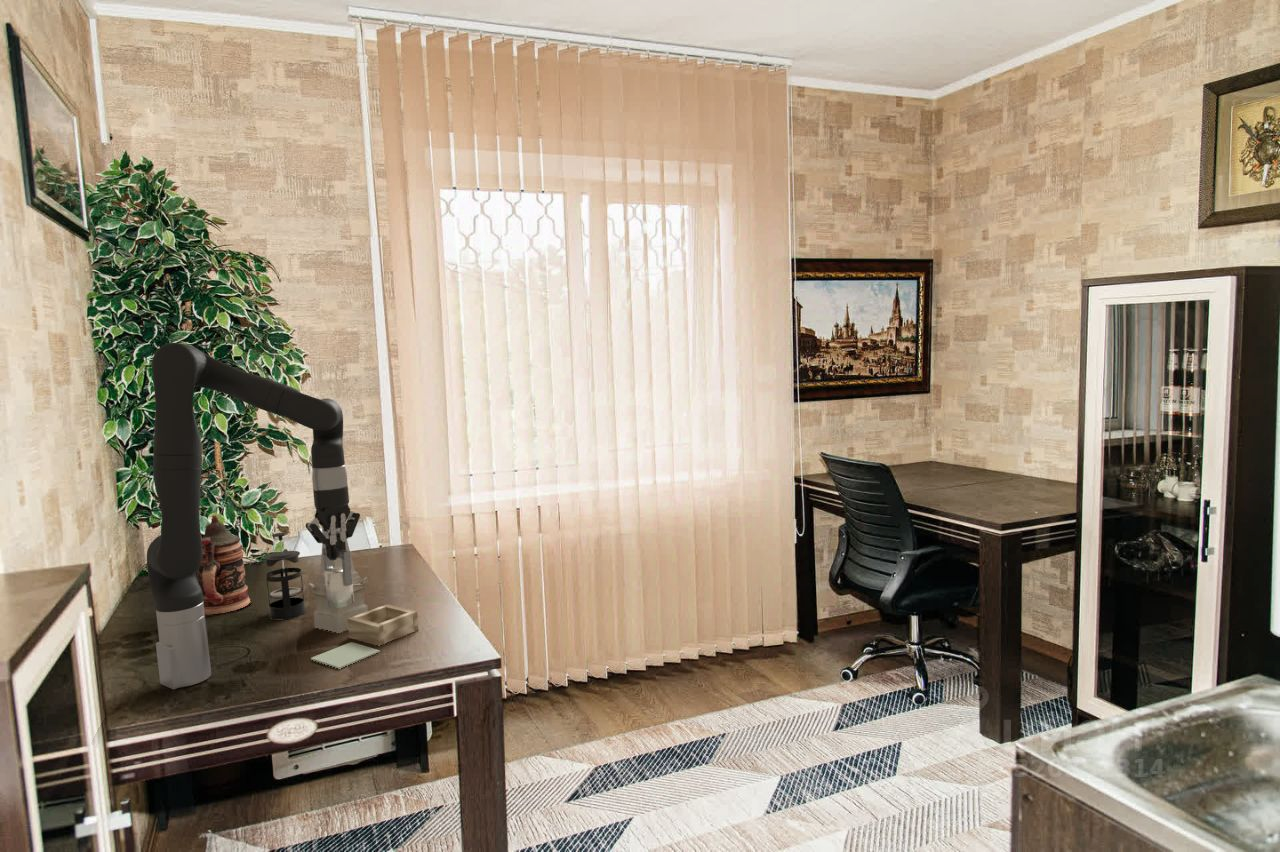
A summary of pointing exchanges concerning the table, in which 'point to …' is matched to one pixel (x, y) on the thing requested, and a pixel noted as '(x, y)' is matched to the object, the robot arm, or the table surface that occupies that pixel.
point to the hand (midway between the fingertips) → (336, 558)
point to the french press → (284, 585)
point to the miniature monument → (339, 616)
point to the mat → (345, 655)
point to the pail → (338, 580)
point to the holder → (382, 624)
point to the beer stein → (222, 570)
